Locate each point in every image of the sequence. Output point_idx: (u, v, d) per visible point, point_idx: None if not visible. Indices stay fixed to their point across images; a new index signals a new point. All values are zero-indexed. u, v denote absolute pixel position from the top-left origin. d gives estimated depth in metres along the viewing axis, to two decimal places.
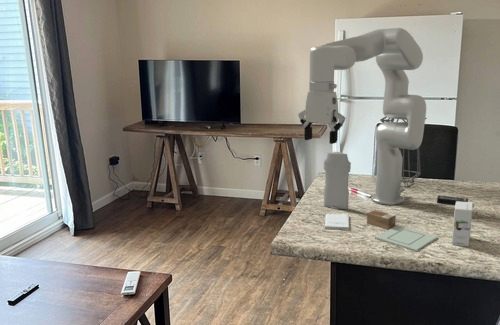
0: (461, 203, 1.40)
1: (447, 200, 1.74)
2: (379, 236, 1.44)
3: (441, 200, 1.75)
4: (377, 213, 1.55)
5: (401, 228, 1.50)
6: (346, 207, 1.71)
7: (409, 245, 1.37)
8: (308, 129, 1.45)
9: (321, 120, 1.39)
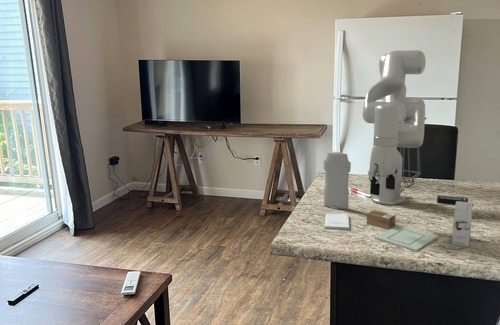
0: (461, 203, 1.40)
1: (447, 200, 1.74)
2: (379, 236, 1.44)
3: (441, 200, 1.75)
4: (377, 213, 1.55)
5: (401, 228, 1.50)
6: (346, 207, 1.71)
7: (409, 245, 1.37)
8: None
9: (392, 171, 1.50)
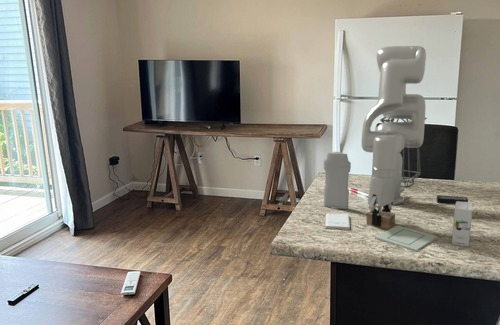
0: (461, 203, 1.40)
1: (447, 199, 1.74)
2: (379, 236, 1.44)
3: (442, 200, 1.75)
4: None
5: (401, 228, 1.50)
6: (346, 207, 1.71)
7: (409, 245, 1.37)
8: None
9: (390, 200, 1.53)
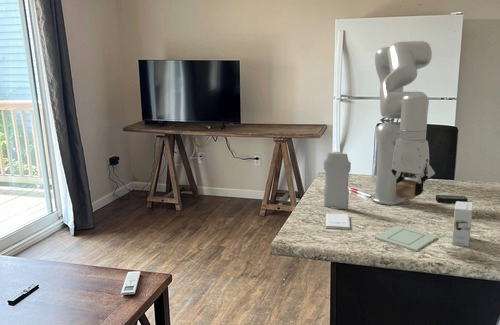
0: (461, 203, 1.40)
1: (448, 199, 1.75)
2: (379, 236, 1.44)
3: (442, 199, 1.75)
4: (407, 183, 1.38)
5: (401, 228, 1.50)
6: (346, 207, 1.71)
7: (409, 245, 1.37)
8: None
9: None
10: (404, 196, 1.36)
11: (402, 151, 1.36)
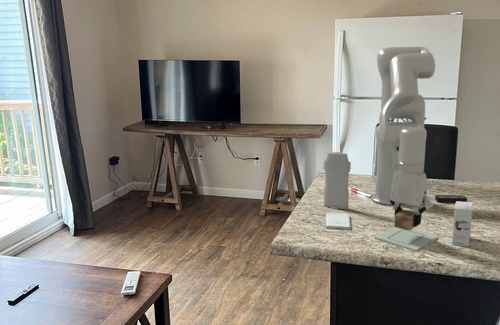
0: (461, 203, 1.40)
1: (448, 199, 1.75)
2: (379, 236, 1.44)
3: (442, 199, 1.76)
4: (405, 214, 1.40)
5: None
6: (346, 207, 1.71)
7: (409, 245, 1.37)
8: None
9: None
10: (402, 227, 1.38)
11: (400, 183, 1.38)
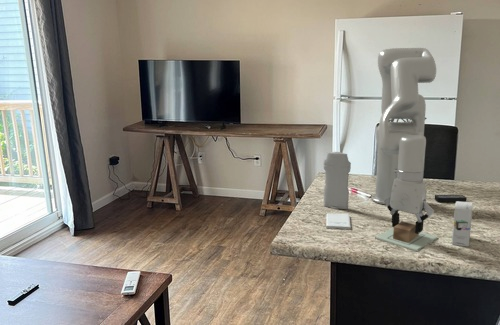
0: (461, 203, 1.40)
1: (448, 198, 1.76)
2: (379, 236, 1.44)
3: (442, 199, 1.76)
4: (404, 226, 1.41)
5: None
6: (346, 207, 1.71)
7: (409, 245, 1.37)
8: None
9: None
10: (401, 239, 1.40)
11: (400, 191, 1.39)
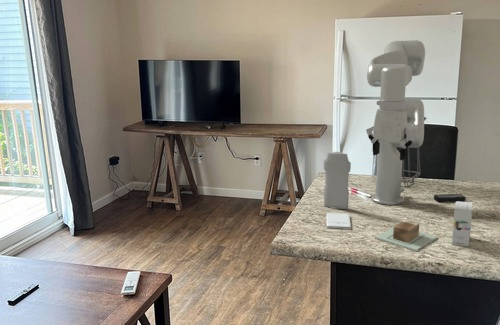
0: (461, 203, 1.40)
1: (447, 198, 1.76)
2: (379, 236, 1.44)
3: (442, 199, 1.76)
4: (404, 226, 1.41)
5: None
6: (346, 207, 1.71)
7: (409, 245, 1.37)
8: None
9: None
10: (401, 239, 1.40)
11: (382, 120, 1.44)
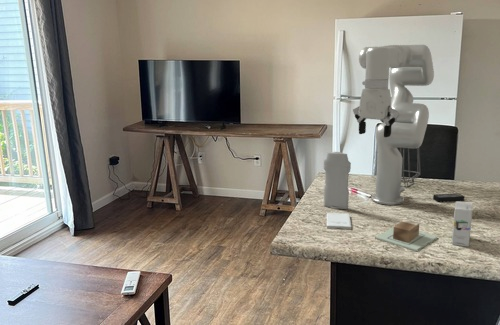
0: (461, 203, 1.40)
1: (447, 198, 1.76)
2: (379, 236, 1.44)
3: (442, 199, 1.76)
4: (404, 226, 1.41)
5: None
6: (346, 207, 1.71)
7: (409, 245, 1.37)
8: None
9: None
10: (401, 239, 1.40)
11: (367, 99, 1.51)
